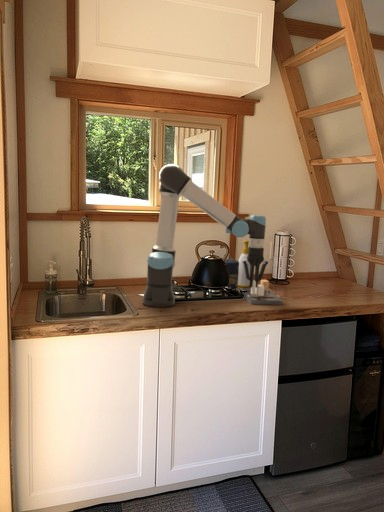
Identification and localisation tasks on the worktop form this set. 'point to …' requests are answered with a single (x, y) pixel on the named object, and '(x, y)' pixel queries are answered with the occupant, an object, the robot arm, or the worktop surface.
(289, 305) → the worktop surface
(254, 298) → the console
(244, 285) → the soap bottle
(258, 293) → the block
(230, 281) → the canister
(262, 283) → the block
